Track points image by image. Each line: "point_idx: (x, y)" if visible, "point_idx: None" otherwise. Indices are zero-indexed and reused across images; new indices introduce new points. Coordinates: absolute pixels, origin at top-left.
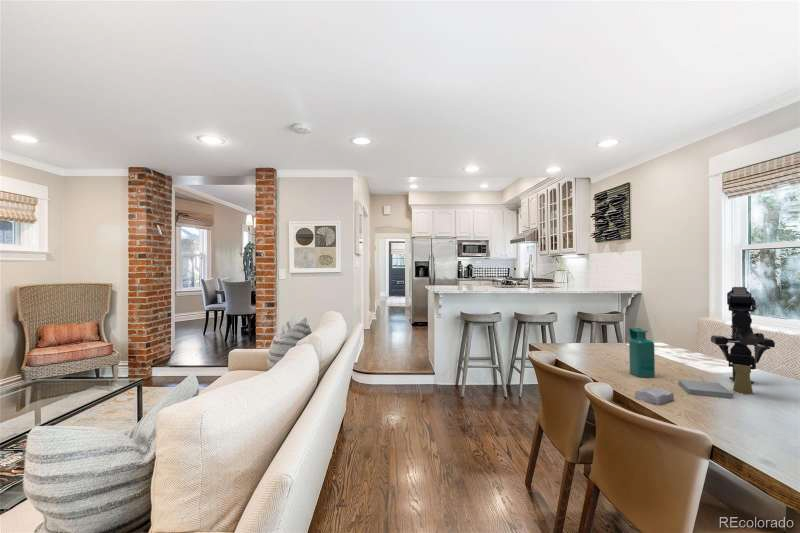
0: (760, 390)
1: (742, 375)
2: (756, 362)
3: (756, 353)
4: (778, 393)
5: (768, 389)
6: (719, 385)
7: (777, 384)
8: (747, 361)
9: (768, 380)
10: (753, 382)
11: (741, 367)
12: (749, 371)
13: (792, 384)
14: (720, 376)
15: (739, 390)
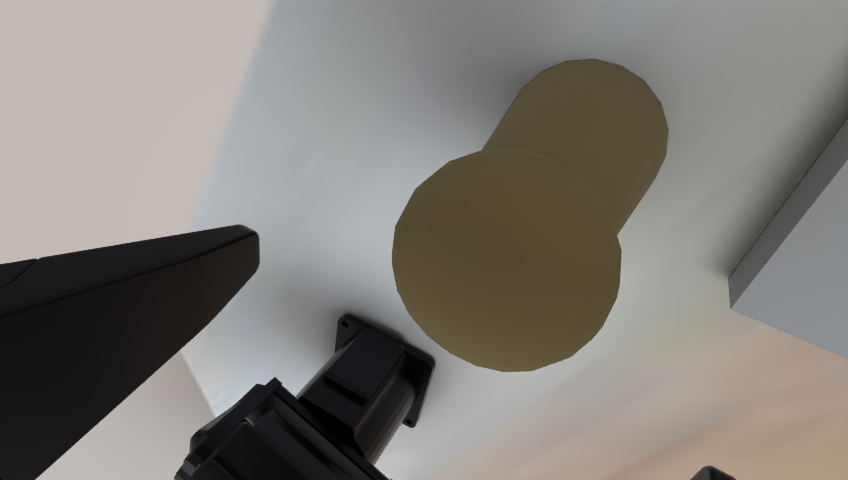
0: (393, 180)
1: (579, 169)
2: (249, 240)
3: (65, 372)
4: (316, 107)
5: (328, 200)
6: (835, 228)
7: None
8: (265, 445)
9: (246, 340)
10: (342, 317)
11: (559, 233)
12: (468, 156)
13: None
14: (444, 459)
15: (652, 110)
